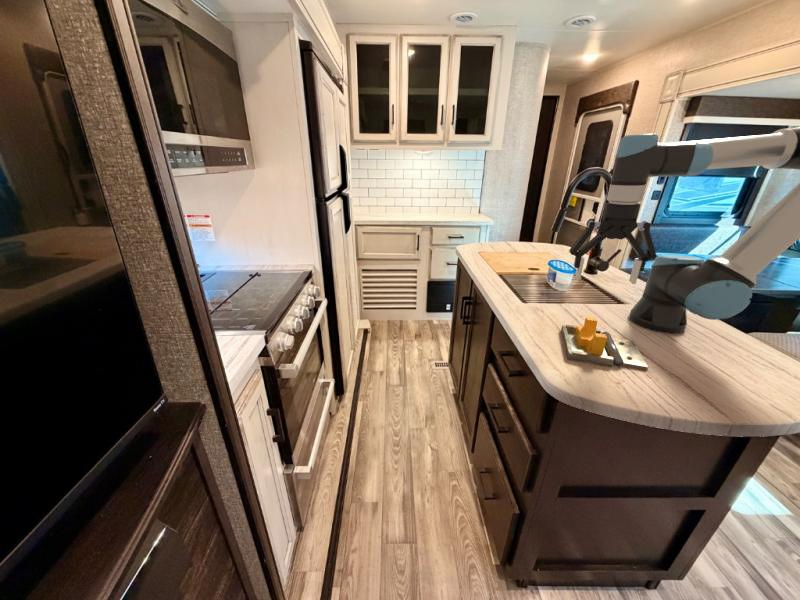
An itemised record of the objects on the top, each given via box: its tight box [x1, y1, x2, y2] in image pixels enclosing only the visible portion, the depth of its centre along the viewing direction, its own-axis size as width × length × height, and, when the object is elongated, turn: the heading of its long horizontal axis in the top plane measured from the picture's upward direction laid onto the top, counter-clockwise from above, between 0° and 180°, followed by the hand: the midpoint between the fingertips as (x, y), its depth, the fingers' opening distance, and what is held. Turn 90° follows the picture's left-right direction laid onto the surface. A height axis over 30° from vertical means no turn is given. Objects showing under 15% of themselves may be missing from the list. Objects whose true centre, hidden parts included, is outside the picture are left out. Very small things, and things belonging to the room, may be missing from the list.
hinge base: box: [560, 324, 649, 371], centre depth 92 cm, size 19×17×2 cm
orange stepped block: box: [575, 316, 607, 355], centre depth 92 cm, size 12×4×6 cm, turn 164°
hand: (604, 280), depth 90 cm, fingers open, 13 cm apart
